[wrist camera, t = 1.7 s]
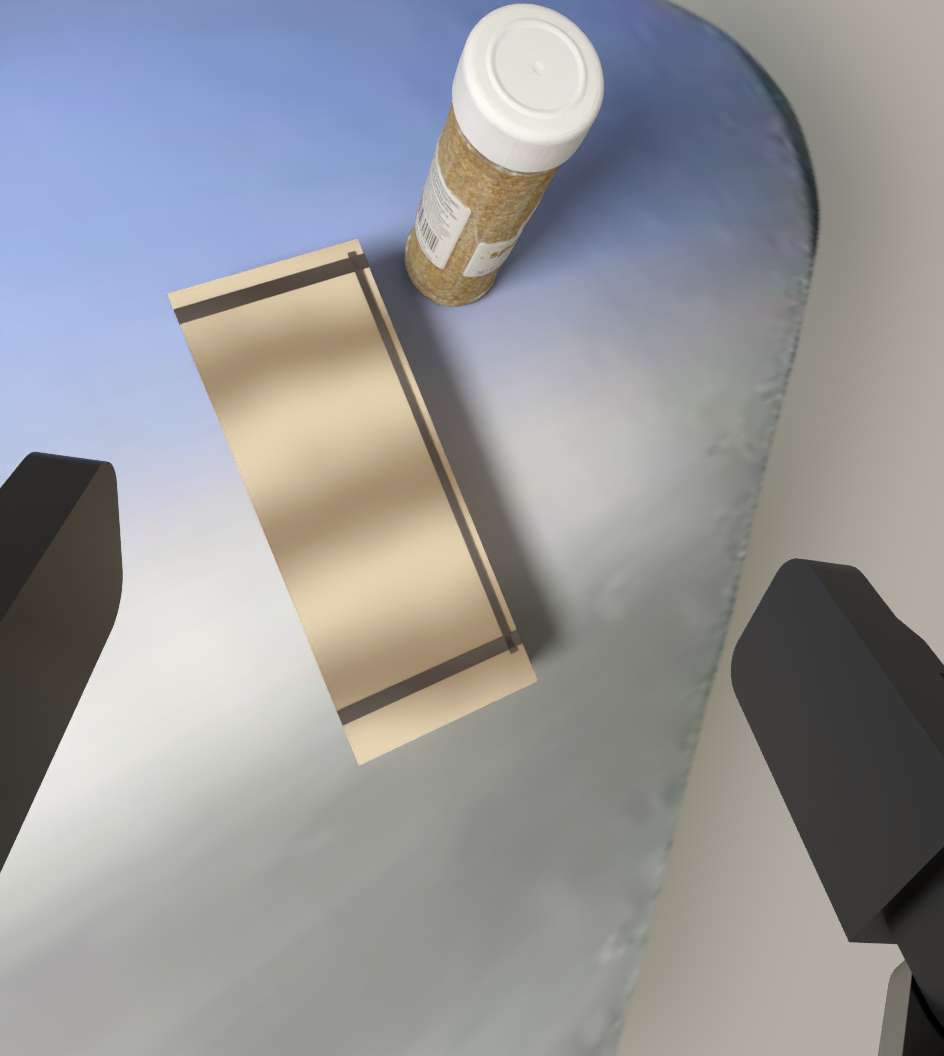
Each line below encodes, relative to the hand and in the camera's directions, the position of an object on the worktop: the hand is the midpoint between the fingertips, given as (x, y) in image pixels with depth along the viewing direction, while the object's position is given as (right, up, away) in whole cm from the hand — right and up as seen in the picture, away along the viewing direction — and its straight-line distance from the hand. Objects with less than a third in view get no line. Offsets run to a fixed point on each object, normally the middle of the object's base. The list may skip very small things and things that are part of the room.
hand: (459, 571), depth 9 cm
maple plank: (-5, +2, +24) cm, 25 cm away
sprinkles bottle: (-1, +13, +27) cm, 30 cm away
